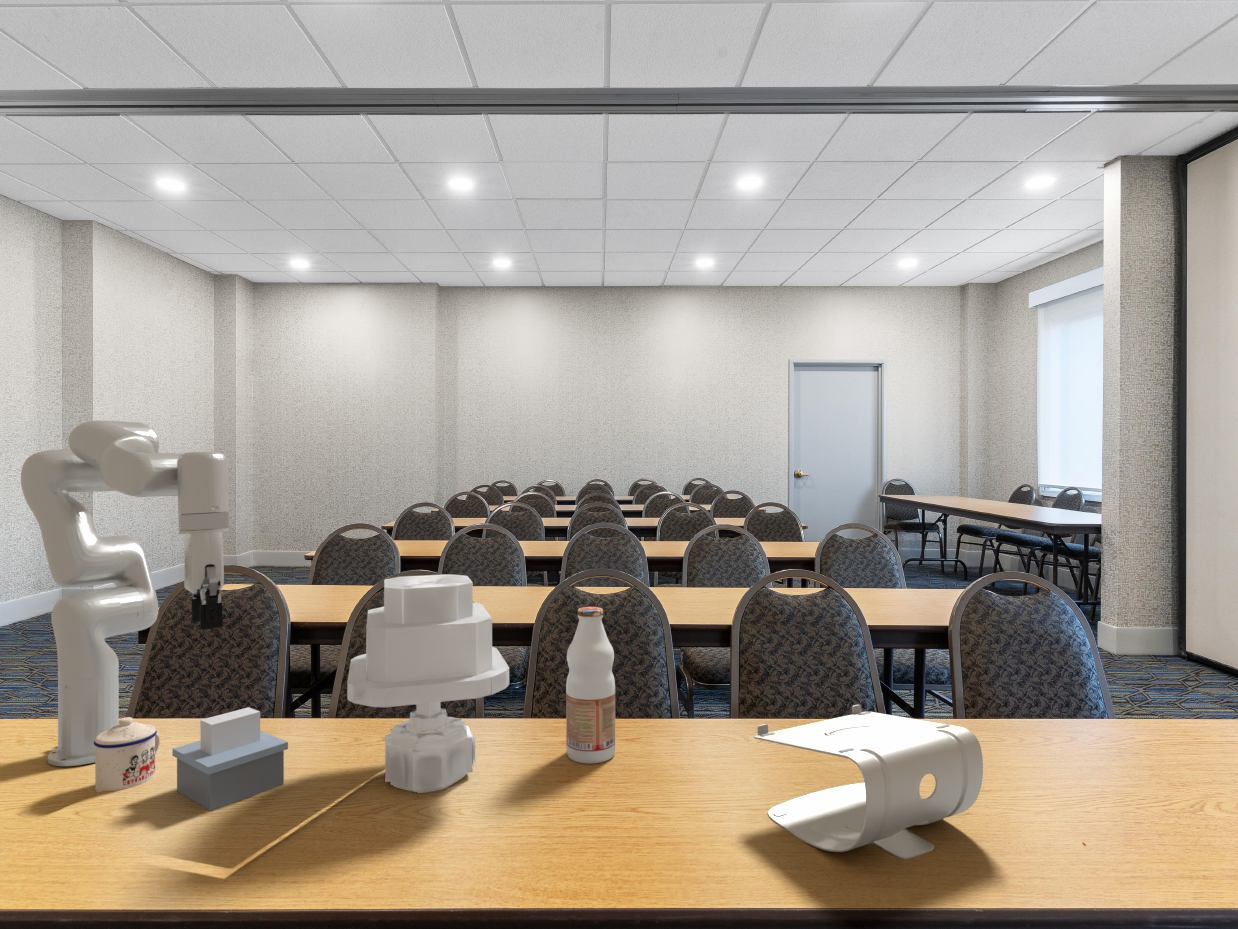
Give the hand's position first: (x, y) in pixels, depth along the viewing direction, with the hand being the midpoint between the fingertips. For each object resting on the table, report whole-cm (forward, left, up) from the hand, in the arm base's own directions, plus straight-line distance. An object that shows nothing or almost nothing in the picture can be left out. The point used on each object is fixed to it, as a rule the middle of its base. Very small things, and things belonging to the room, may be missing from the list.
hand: (207, 624), depth 124 cm
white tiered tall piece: (+26, +26, -29) cm, 47 cm away
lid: (+4, +2, -22) cm, 22 cm away
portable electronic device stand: (+94, +55, -29) cm, 113 cm away
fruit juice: (+43, +51, -29) cm, 73 cm away
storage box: (+4, +2, -29) cm, 29 cm away
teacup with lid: (-15, -6, -29) cm, 33 cm away
